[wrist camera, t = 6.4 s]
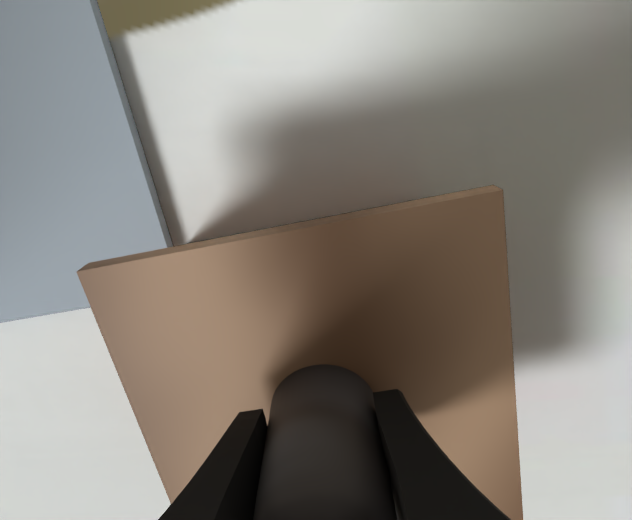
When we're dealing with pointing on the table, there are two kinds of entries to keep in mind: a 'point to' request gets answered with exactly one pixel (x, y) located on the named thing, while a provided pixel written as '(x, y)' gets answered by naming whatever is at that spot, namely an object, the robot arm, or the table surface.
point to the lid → (323, 349)
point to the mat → (65, 158)
